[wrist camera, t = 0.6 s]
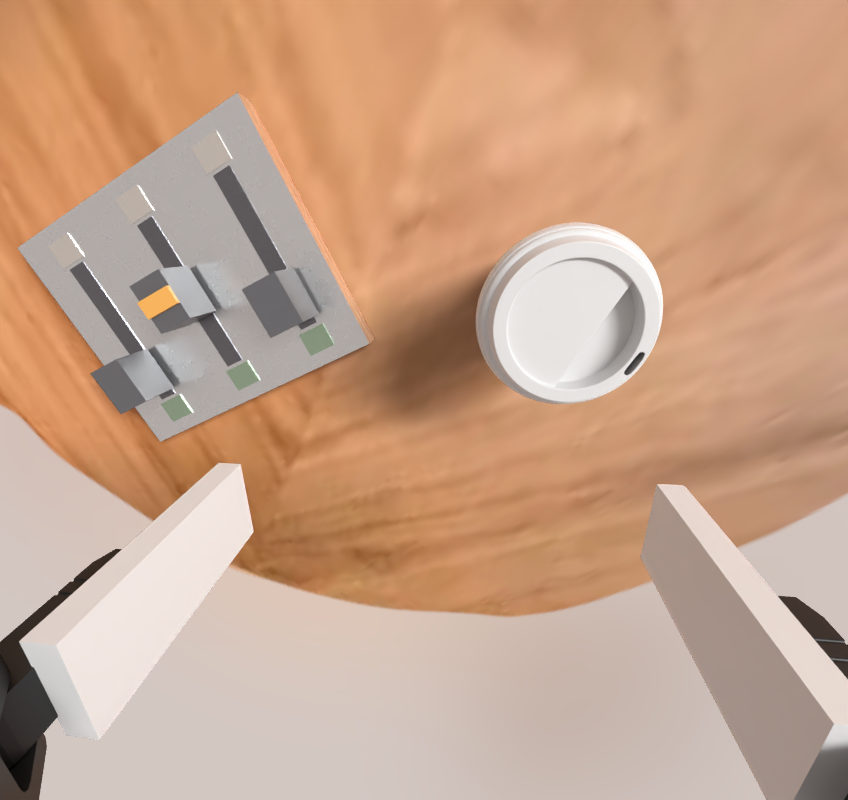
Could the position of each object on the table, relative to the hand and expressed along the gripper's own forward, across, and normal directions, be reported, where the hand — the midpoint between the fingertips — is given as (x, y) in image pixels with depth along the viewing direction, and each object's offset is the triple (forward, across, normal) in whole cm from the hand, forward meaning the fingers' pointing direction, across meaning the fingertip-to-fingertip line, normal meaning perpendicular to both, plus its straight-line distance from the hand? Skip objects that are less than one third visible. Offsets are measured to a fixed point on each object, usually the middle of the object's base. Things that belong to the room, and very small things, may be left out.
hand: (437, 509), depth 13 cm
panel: (+25, -23, +4) cm, 34 cm away
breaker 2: (+22, -28, -3) cm, 36 cm away
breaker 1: (+22, -23, +4) cm, 32 cm away
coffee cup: (+25, +6, +4) cm, 26 cm away
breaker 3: (+22, -14, +4) cm, 26 cm away
